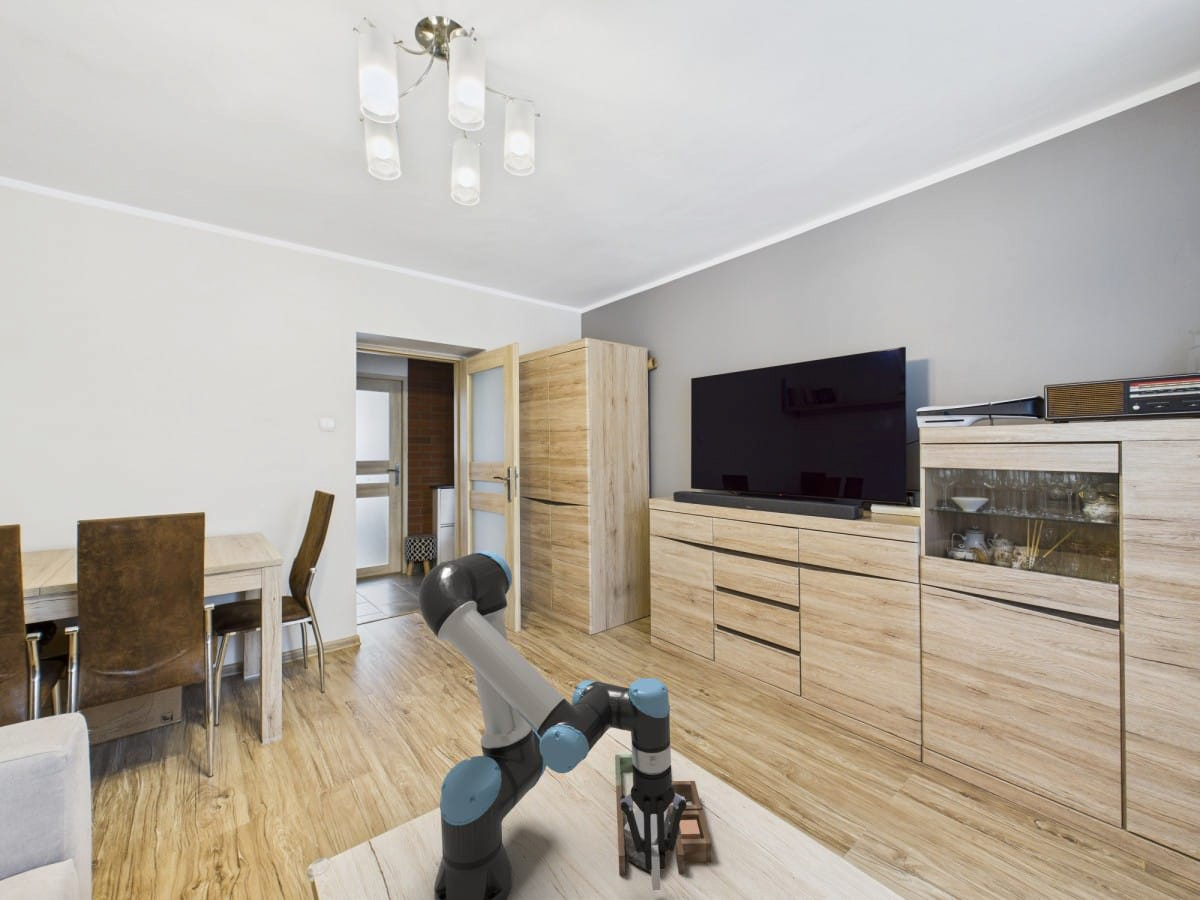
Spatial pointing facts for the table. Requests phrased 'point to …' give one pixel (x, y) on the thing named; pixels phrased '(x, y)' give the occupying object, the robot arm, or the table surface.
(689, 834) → the cube
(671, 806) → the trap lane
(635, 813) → the decorative stone
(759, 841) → the table surface
